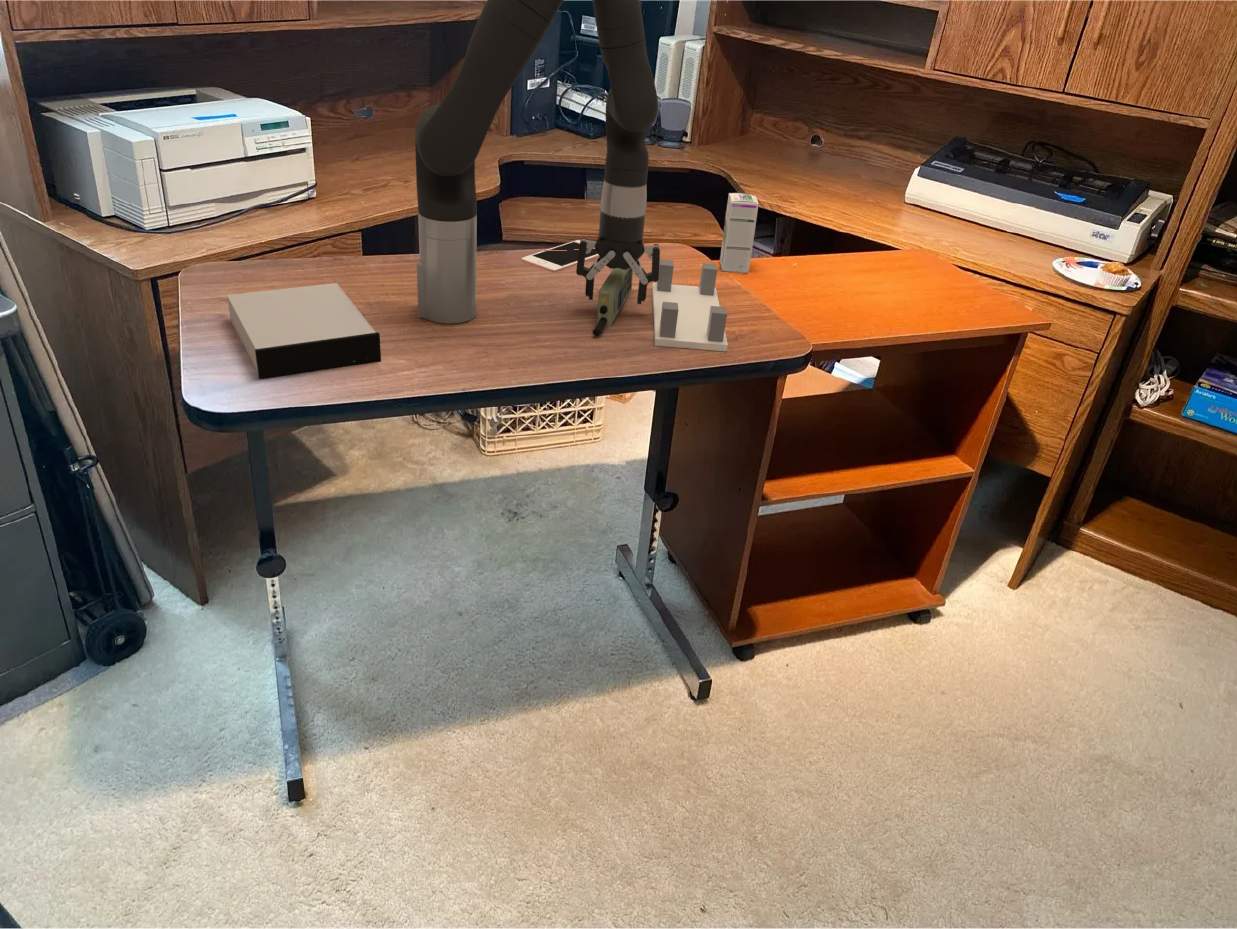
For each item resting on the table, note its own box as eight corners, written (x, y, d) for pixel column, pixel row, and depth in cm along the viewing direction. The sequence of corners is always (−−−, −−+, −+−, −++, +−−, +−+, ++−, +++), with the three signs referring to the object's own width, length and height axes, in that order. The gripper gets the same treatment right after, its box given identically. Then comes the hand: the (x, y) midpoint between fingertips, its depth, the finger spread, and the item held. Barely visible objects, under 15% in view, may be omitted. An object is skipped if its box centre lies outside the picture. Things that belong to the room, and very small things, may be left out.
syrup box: (749, 273, 187) (761, 202, 179) (720, 271, 187) (730, 199, 179) (746, 264, 192) (757, 194, 184) (717, 261, 192) (728, 191, 184)
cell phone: (520, 262, 182) (520, 257, 182) (578, 243, 195) (578, 239, 195) (554, 274, 178) (554, 270, 178) (611, 254, 191) (611, 250, 190)
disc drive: (260, 383, 132) (255, 350, 129) (229, 322, 148) (225, 293, 145) (381, 364, 140) (380, 334, 137) (340, 309, 156) (337, 281, 153)
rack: (654, 345, 153) (658, 310, 150) (652, 288, 175) (655, 257, 172) (726, 351, 153) (732, 316, 150) (714, 294, 175) (719, 262, 172)
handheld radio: (634, 290, 174) (606, 341, 153) (617, 288, 175) (586, 339, 154) (636, 256, 171) (607, 303, 150) (618, 254, 171) (588, 301, 150)
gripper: (579, 211, 151) (573, 305, 159) (666, 219, 151) (655, 312, 160) (581, 198, 157) (575, 289, 166) (664, 206, 158) (655, 296, 166)
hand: (615, 300), depth 163 cm, fingers open, 8 cm apart
